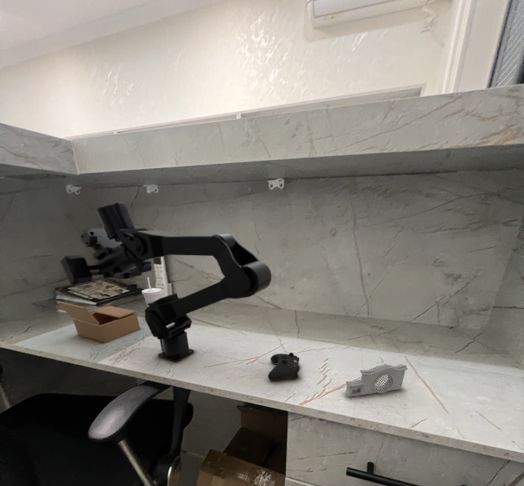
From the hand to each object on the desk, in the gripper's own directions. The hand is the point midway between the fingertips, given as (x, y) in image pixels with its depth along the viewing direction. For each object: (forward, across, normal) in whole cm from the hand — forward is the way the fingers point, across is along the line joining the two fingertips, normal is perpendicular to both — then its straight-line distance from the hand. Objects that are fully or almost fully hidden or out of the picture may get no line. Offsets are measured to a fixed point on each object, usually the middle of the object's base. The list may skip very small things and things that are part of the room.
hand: (88, 277), depth 73 cm
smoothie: (+6, -21, +15) cm, 27 cm away
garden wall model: (-63, -6, +41) cm, 76 cm away
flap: (+7, +2, +8) cm, 11 cm away
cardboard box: (+10, -6, +15) cm, 19 cm away
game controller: (-45, -6, +35) cm, 57 cm away
